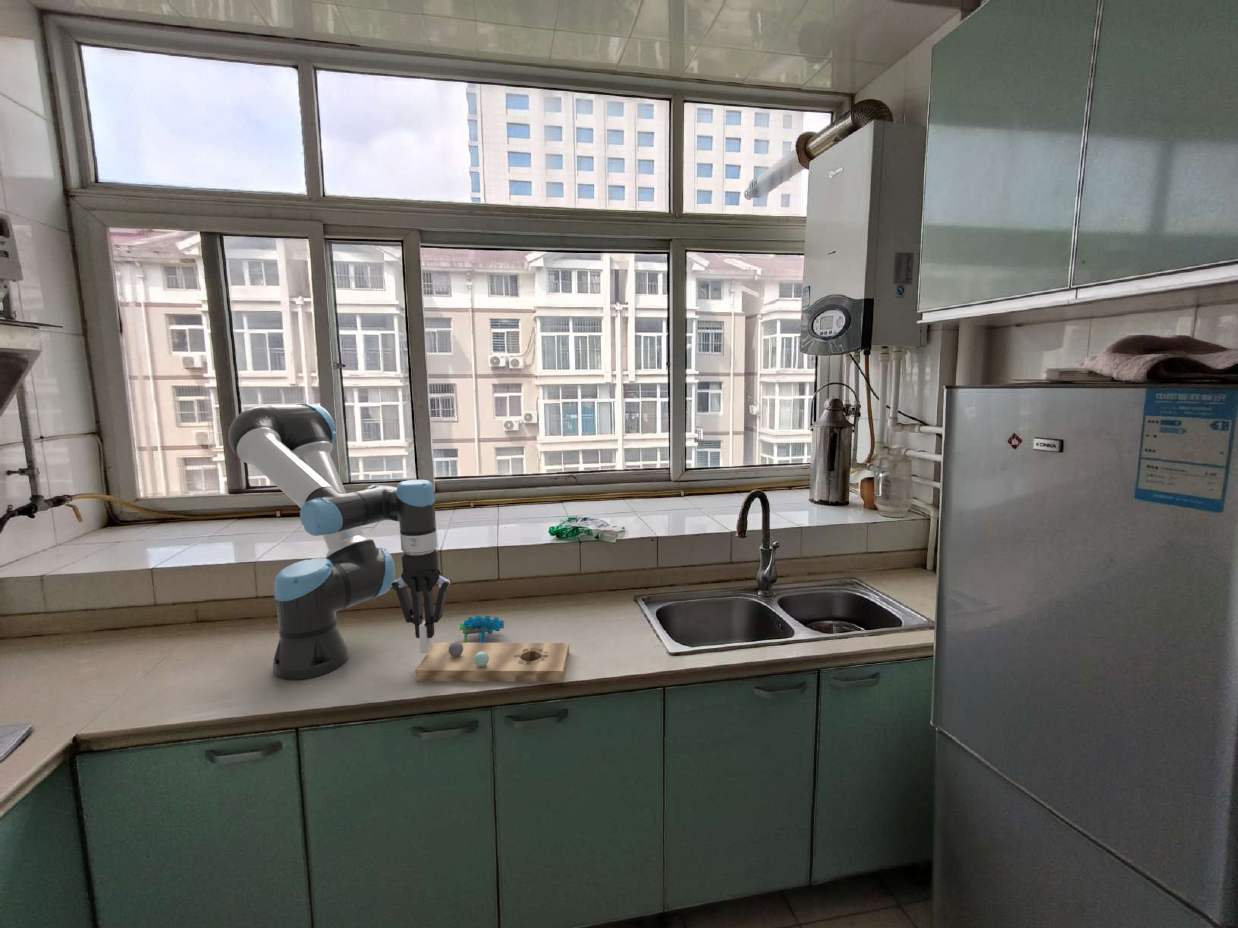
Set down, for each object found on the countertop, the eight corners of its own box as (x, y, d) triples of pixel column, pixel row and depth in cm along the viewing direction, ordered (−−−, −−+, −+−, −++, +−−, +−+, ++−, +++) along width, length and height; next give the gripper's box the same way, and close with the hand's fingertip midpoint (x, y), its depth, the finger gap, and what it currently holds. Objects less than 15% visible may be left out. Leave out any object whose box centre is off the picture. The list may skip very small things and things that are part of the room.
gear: (509, 625, 148) (497, 610, 140) (508, 648, 145) (494, 634, 137) (468, 629, 149) (453, 615, 141) (466, 652, 146) (450, 639, 138)
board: (415, 680, 125) (415, 670, 124) (435, 652, 138) (435, 642, 137) (562, 681, 124) (562, 670, 124) (569, 652, 137) (569, 642, 137)
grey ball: (447, 659, 129) (446, 645, 129) (451, 652, 132) (450, 639, 132) (461, 659, 129) (460, 645, 129) (465, 652, 132) (464, 639, 132)
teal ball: (472, 669, 125) (471, 655, 124) (476, 662, 128) (475, 648, 127) (487, 669, 124) (486, 655, 124) (490, 662, 128) (490, 648, 127)
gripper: (383, 555, 123) (390, 658, 127) (443, 555, 123) (449, 658, 127) (397, 545, 131) (404, 642, 134) (454, 545, 130) (459, 642, 134)
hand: (426, 650), depth 130 cm, fingers closed
